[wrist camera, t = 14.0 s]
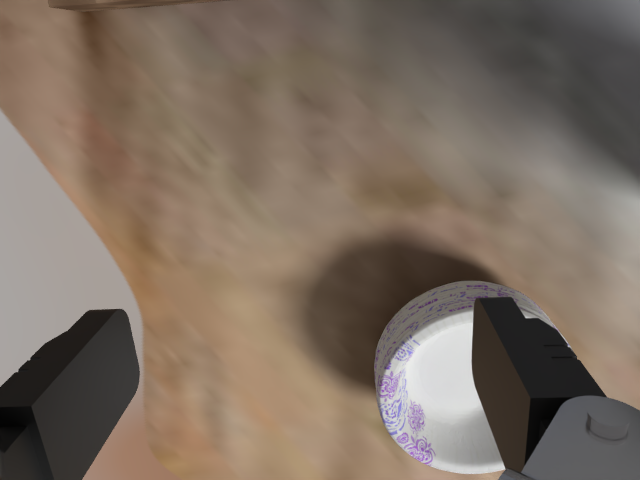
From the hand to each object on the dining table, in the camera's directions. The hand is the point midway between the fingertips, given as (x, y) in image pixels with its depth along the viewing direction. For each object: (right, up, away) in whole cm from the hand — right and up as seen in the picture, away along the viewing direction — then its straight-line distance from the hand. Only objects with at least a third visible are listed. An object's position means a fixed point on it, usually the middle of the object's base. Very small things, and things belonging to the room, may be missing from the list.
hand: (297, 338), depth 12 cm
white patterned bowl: (+13, -7, +34) cm, 37 cm away
